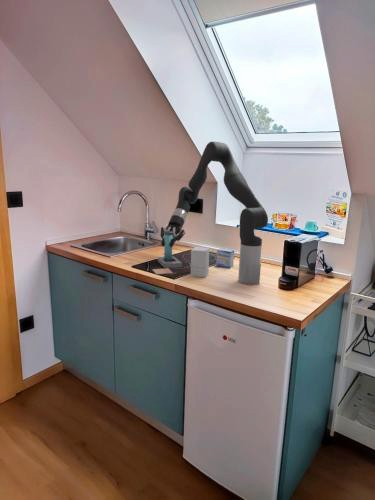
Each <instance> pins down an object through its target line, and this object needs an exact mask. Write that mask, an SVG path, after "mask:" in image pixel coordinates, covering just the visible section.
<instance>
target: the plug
mask: <svg viewBox="0 0 375 500" xmlns="http://www.w3.org/2000/svg"><path fill="white" fill-rule="evenodd" d="M172 234H173V231H167V230H166V231H164V235H165V241H164V246H163V249H164V251H163V252H164V253H163V254H164V255H163V257H164V259H172V256H173V246H172V247H170V246H169V244H170V242H171V240H172V238H173V235H172Z"/></svg>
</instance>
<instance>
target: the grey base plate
mask: <svg viewBox="0 0 375 500" xmlns="http://www.w3.org/2000/svg"><path fill="white" fill-rule="evenodd" d="M157 262H158V263H159V264H160V265H161V266H162V267H163V269H165V268H168V269H171V268H172V269H173V268H176V269H177V268H183V262H182V261H180V260H179V259H178V258H176V256H173V255H172V259H164V256H159V257H157Z"/></svg>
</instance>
